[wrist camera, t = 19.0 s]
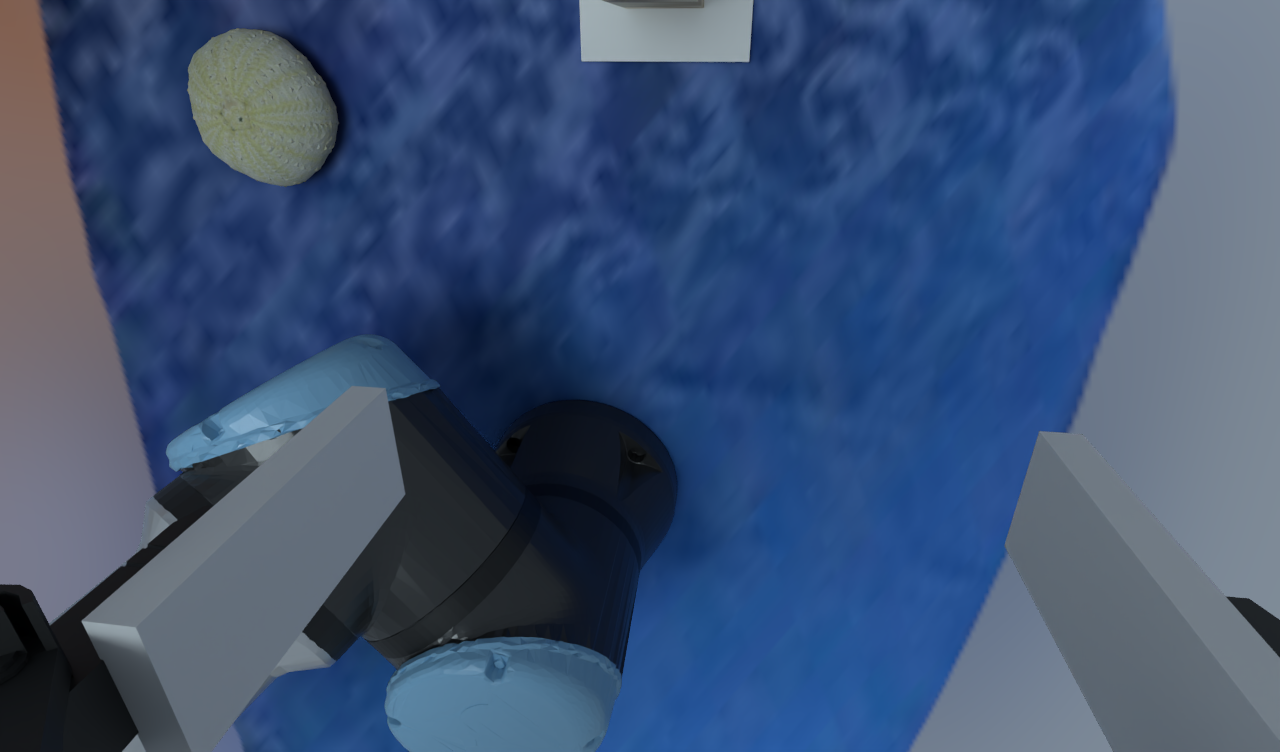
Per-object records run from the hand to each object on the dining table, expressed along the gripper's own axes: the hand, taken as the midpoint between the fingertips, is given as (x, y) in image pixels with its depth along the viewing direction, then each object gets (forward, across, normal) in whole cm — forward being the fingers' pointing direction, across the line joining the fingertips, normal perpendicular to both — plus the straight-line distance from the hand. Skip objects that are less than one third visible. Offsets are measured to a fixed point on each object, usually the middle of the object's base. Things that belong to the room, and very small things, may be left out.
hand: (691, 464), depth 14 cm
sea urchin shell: (+33, +30, -4) cm, 45 cm away
